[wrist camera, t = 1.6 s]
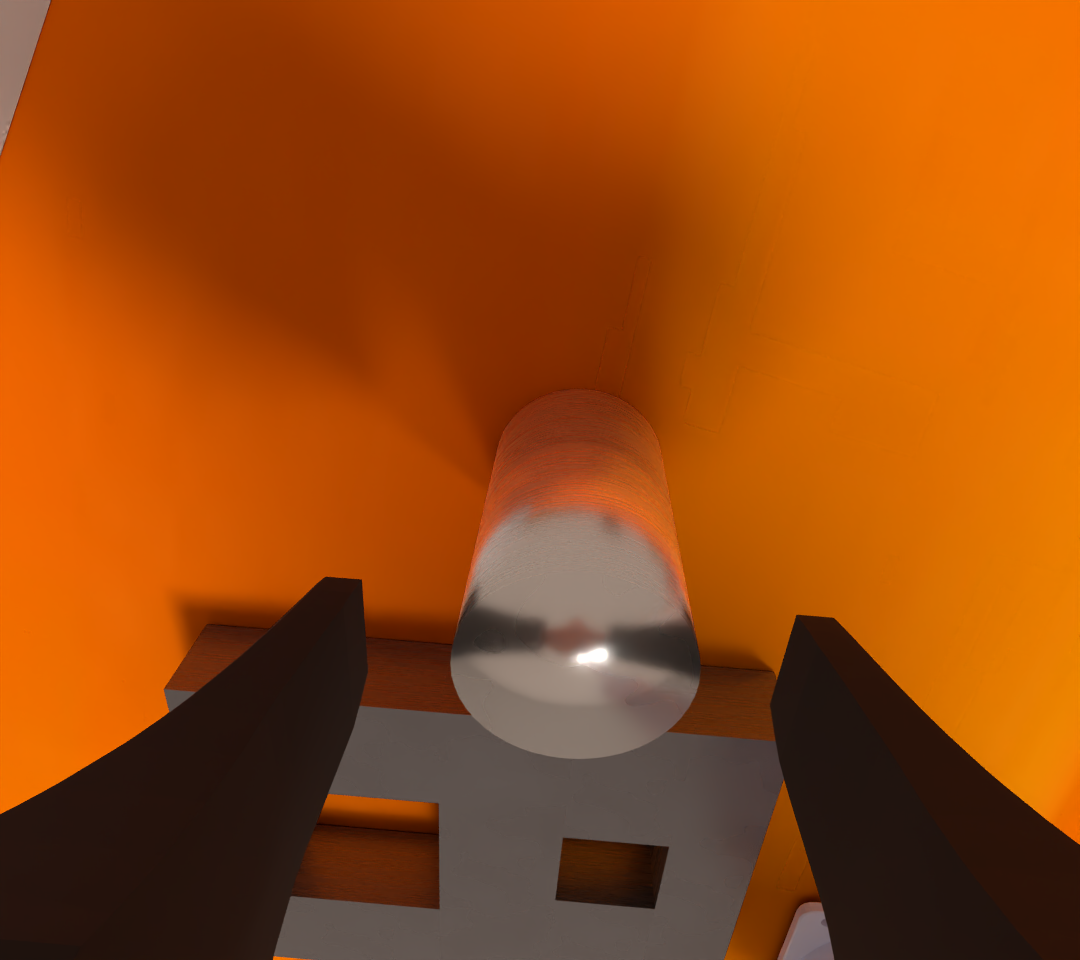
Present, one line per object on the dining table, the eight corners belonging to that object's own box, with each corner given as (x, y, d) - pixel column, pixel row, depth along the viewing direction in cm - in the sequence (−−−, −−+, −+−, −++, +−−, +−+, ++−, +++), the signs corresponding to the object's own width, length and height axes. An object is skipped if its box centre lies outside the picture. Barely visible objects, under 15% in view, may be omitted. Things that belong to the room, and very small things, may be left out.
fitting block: (773, 671, 21) (795, 743, 19) (701, 919, 27) (712, 995, 25) (207, 624, 21) (163, 689, 19) (259, 880, 27) (230, 952, 25)
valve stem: (673, 395, 17) (721, 583, 11) (649, 540, 19) (679, 768, 13) (498, 382, 17) (450, 561, 11) (493, 528, 19) (449, 748, 13)
